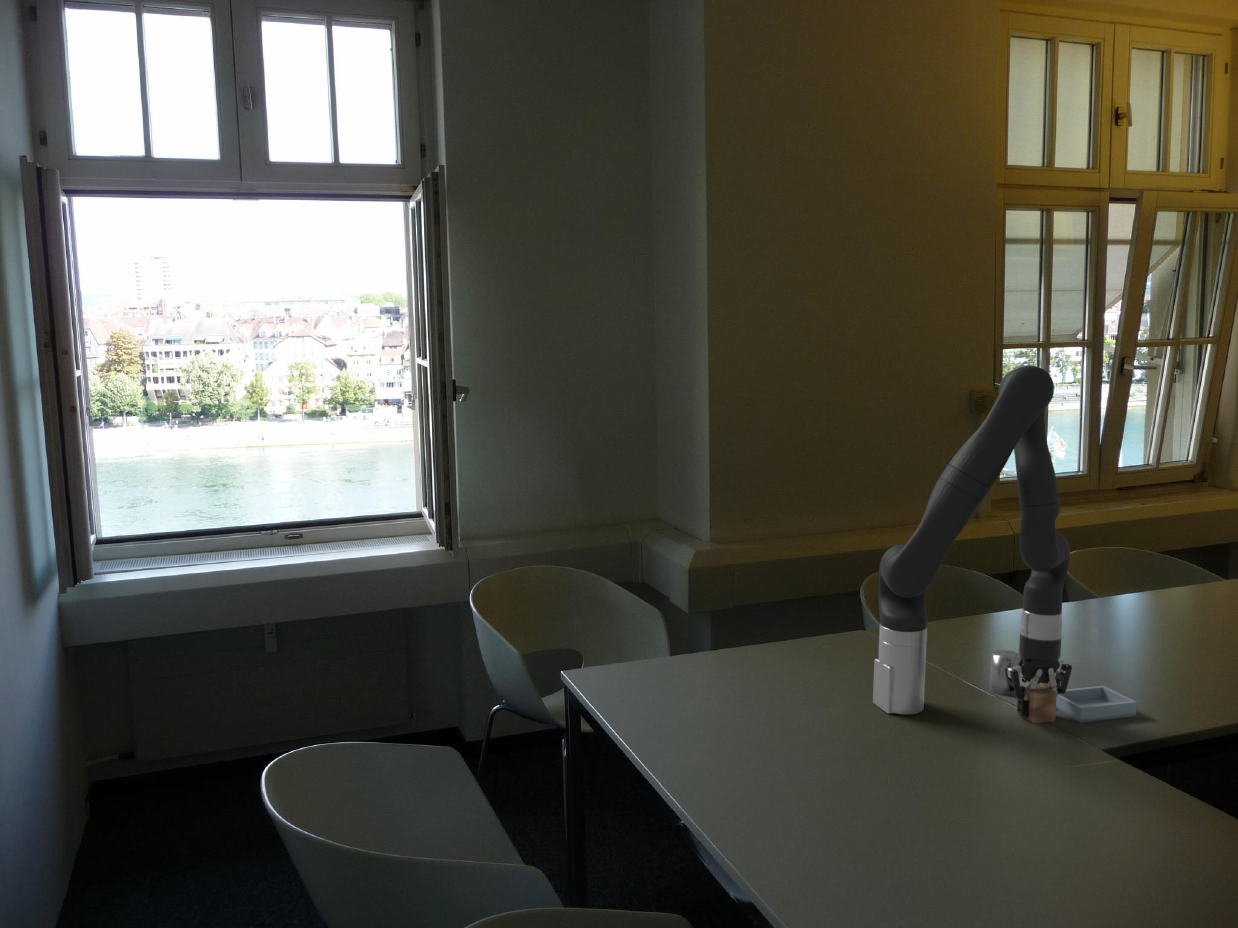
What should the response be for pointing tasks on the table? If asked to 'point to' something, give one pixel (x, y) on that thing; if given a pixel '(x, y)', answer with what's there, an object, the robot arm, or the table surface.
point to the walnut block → (1042, 704)
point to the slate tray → (1095, 704)
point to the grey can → (1002, 670)
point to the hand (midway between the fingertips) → (1035, 714)
